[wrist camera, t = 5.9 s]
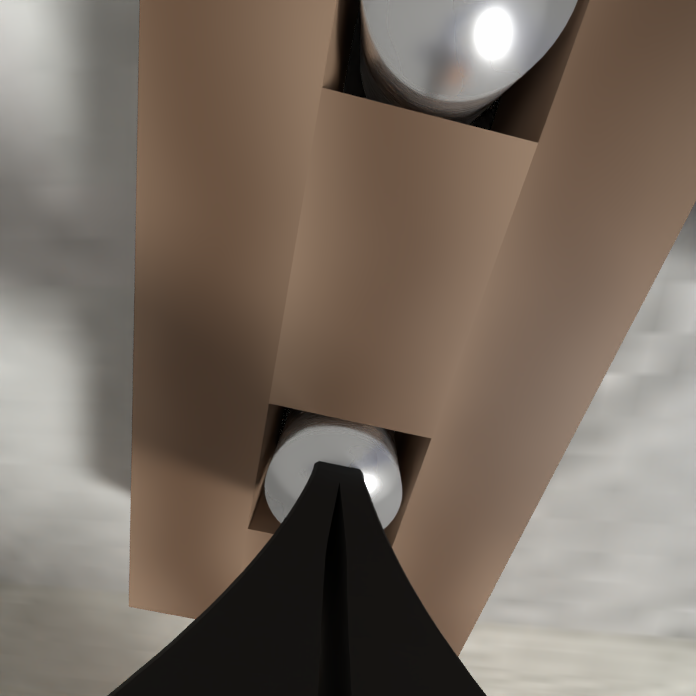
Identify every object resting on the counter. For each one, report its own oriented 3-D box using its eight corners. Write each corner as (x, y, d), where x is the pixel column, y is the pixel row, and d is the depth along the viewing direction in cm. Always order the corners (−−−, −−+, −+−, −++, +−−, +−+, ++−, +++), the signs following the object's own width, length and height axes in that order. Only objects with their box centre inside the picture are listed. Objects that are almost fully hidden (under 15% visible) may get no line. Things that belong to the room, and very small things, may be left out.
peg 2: (525, -9, 9) (636, -166, 6) (474, 156, 11) (536, 119, 7) (380, -49, 9) (393, -237, 5) (346, 123, 11) (338, 68, 7)
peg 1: (402, 386, 13) (419, 450, 10) (376, 470, 15) (382, 555, 11) (299, 363, 13) (275, 420, 9) (283, 451, 15) (256, 530, 11)
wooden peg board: (769, -228, 8) (1123, -620, 4) (431, 567, 17) (452, 667, 13) (258, -388, 8) (158, -985, 4) (182, 517, 16) (128, 606, 12)
